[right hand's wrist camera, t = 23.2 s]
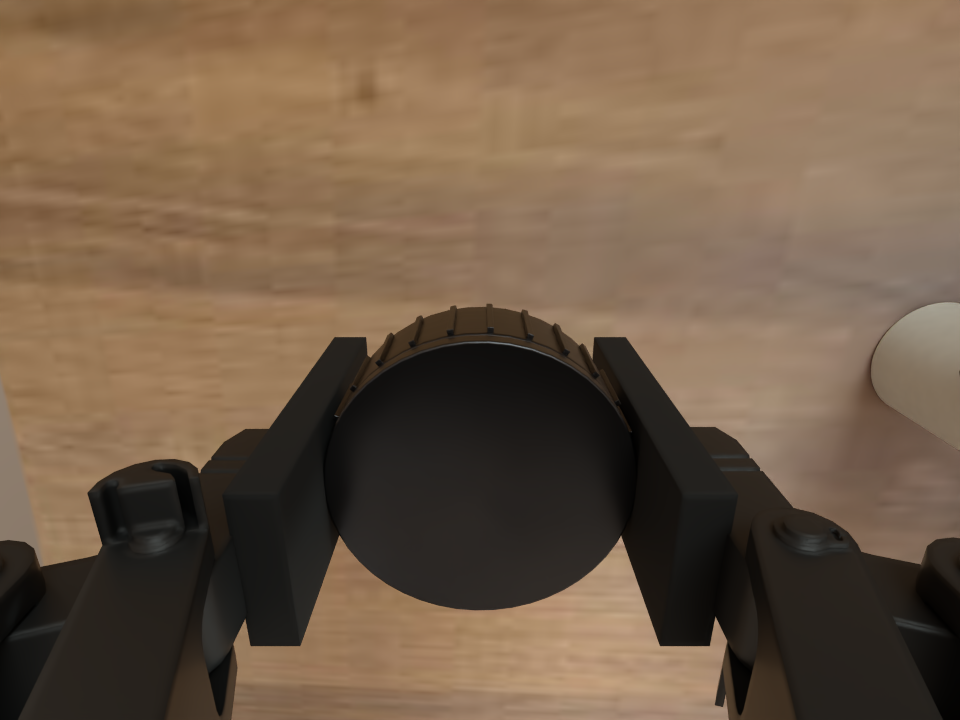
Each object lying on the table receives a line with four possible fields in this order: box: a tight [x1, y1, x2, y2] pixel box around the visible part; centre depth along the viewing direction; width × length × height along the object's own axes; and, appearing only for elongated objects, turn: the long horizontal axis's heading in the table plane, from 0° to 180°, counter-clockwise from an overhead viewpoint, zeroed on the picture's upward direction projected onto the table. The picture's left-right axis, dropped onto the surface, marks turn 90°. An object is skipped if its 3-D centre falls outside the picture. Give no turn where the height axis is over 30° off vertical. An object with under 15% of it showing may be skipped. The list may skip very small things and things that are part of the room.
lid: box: [323, 304, 637, 610], centre depth 11 cm, size 6×6×2 cm
